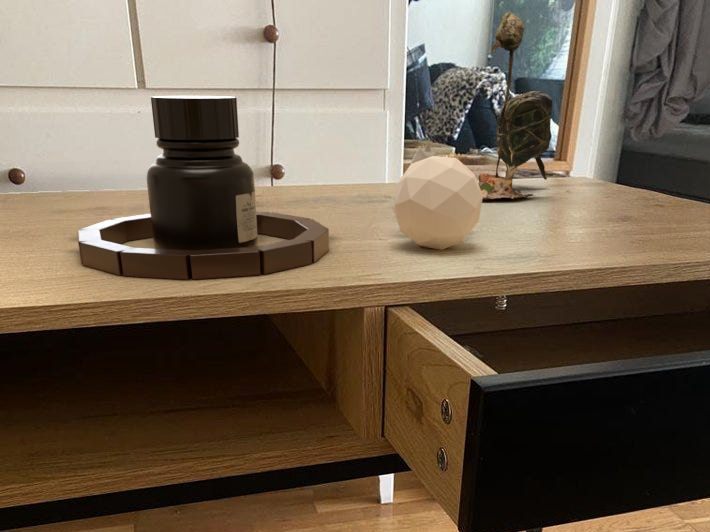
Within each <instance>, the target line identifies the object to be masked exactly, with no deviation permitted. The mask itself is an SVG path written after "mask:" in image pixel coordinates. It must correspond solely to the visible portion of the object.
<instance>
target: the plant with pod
mask: <svg viewBox="0 0 710 532" xmlns="http://www.w3.org/2000/svg"><path fill="white" fill-rule="evenodd" d="M525 27H526V26H525V24H524V23H523V21H522V20H521V18H520V17H519V16H517V15H515V14H514V13H513V12H512V11H508V12H505V13H504V14H503V15H502V17H501V21H500V23H499V25H498V26H497V29H496V31H495V34H494V39H495V40H496V41H495V43H494V44H493V47H492V48H491V52H492V53H494V52H496V51H497V49H498V48H501V49H503V50H504V51H506V52H509V53H508V55H509V57H508V70H507V71H508V73H507V82H506V90H505V98H504V102H503V105H502V106H501V108H500V110H499V116H498V118H497V119H496V120H497V127H496V128H497V132H496V137H497V138H496V144H497V148H496V155H497V157H498V158H497V162H496V169H495V174H490V173H484V172H480V174H479V175H478V184H479V187H480V190H481V192H482V195H483V198H482V199H488V200H489V199H490V200H494V199H501V198H507V199H509V198H510V199H511V200H514V199H521V198H528V197H532V196H534V194H533V193H524V194H523V193H519V192H517V191H516V190H515V189H513V178H514V176H515V173H516V171H517V169H518V167H520V166H522V165H523V164H526V163H527V162H528V161H530V160H532V159H535V162H536V165H537V167H538V170H539V172H540V173H541V176H542V178H543V179H544V180H545V181H547V180H548V176H547V172H546V170H545V168H546V166H545V164H544V161H543V160H542V158H541V155H542V154H544V153H546V152H547V151H548V150H549V148H550V145H551V144H550V143H551V142H552V141H551V140H552V131H551V120H552V113H553V98H551V96H550V95H549V94H547V93H545V92H543V91H539V90H532V91H528V92H525V93H520V94H519V95H518V94H517V95H515V96H514V97H512V98H510V99H509V96H510V90H511V83H512V73H513V64H514V52H515V51H517V50H518V49H519V47H520V45H521V44H522V41H523V37H524V33H525V29H526V28H525ZM552 94H555V91H554V92H552ZM501 160H502V162H503V163H504V164H505V168H506V171H505V175H504V176H502V175H501V176H500V175H499V173H498V170H499V165H500V162H501Z"/></svg>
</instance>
